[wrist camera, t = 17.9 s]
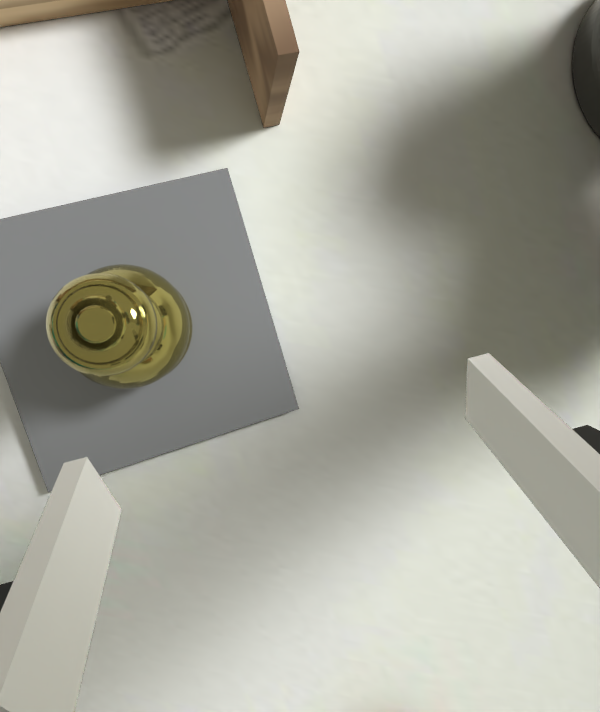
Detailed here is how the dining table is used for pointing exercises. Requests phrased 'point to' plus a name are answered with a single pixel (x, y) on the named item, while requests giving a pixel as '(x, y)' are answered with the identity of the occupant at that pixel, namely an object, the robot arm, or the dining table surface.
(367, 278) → the dining table surface
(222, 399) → the charcoal mat
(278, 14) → the offcut rack
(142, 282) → the gold rounded piece
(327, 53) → the dining table surface
